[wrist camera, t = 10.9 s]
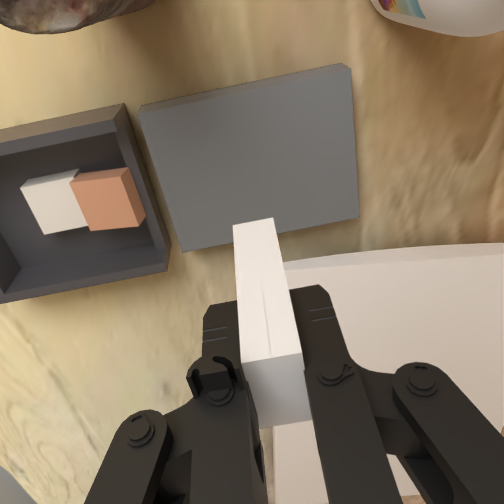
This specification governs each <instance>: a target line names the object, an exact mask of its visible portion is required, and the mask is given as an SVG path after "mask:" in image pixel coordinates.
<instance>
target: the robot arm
mask: <svg viewBox="0 0 504 504" xmlns="http://www.w3.org/2000/svg"><path fill="white" fill-rule="evenodd" d="M233 239H234V255H235V272H236V288H237V300H236V301H230V302H225V303H219V304H214V305H210V306H209V308H208V310H207V312H206V313H205V315H204V317H203V343H202V357H201V358H199V359H198V360H196V361H195V362H194V363H193V364H192V365H191V367H190V368H189V369H188V373H187V376H186V379H187V382H188V384H189V387H190V389H191V392H192V394H193V396H194V397H193V398H192V399H191V400H190V401H189V402H187V403H186V404H185V405H183V406H181V407H180V408H178V409H176V410H174V411H172V412H169V413H167V414H165V415H162V414H161V413H160V412H158V411H154V410H143V411H139V412H137V413H135V414H133V415H130V416H129V417H128V418H127V419H126V420H125V421H124V422H122V424H121V425H120V427H119V428H118V430H117V431H116V433H115V435H114V438H113V440H112V442H111V444H110V447H109V449H108V451H107V453H106V455H105V458H104V460H103V462H102V464H101V467H100V469H99V471H98V473H97V475H96V478H95V480H94V482H93V484H92V487H91V489H90V491H89V493H88V495H87V498H86V500H85V502H84V504H268V496H267V486H266V476H265V465H264V455H263V447H262V444H261V440H260V436H259V427H260V429H262V428H268V427H274V426H280V425H286V424H292V423H298V422H303V421H309V420H313V425H314V431H315V437H316V442H317V448H318V454H319V457H320V462H321V467H322V472H323V477H324V481H325V486H326V491H327V496H328V501H329V504H403V502H402V499H401V496H400V493H399V490H398V487H397V484H396V481H395V478H394V475H393V472H392V469H391V466H390V463H389V460H388V457H387V454H390V455H396V457H397V459H398V460H399V462H400V463H401V465H402V466H403V468H404V470H405V471H406V473H407V474H408V476H409V477H410V479H411V480H412V482H413V484H414V485H415V487H416V488H417V490H418V491H419V493H420V494H421V496H422V498H423V499H424V501H425V502H426V504H504V437H503V436H502V435H501V434H500V433H499V432H498V430H497V429H496V428H495V427H494V426H493V425H492V424H491V423H490V422H489V421H488V419H487V418H486V417H485V416H484V415H483V414H482V413H481V412H480V411H479V409H478V408H477V407H476V406H475V405H474V404H473V403H472V402H471V401H470V399H469V398H468V397H467V396H466V395H465V394H464V393H463V392H462V391H461V390H460V388H459V387H458V386H457V385H456V384H455V383H454V382H453V381H452V380H451V378H450V377H449V376H448V375H447V374H446V373H445V372H443V371H442V370H441V369H440V368H438V367H436V366H434V365H431V364H429V363H424V362H412V363H407V364H404V365H403V366H401V367H400V368H398V369H397V370H396V372H395V374H392V373H382V372H375V371H370V370H368V369H365V368H363V367H361V366H360V365H358V364H357V363H356V362H355V361H354V360H353V359H352V358H351V356H350V354H349V352H348V349H347V346H346V343H345V340H344V337H343V334H342V331H341V328H340V325H339V322H338V319H337V317H336V313H335V310H334V308H333V304H332V301H331V298H330V295H329V293H328V292H327V291H326V290H325V289H324V288H323V287H322V286H320V285H319V284H317V285H311V286H306V287H301V288H295V289H290V290H289V289H288V285H287V280H286V275H285V271H284V266H283V262H282V257H281V252H280V248H279V243H278V238H277V234H276V229H275V224H274V220H273V218H268V219H262V220H257V221H252V222H247V223H242V224H236V225H233Z"/></svg>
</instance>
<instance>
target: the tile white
mask: <svg viewBox="0 0 504 504" xmlns="http://www.w3.org/2000/svg"><path fill="white" fill-rule="evenodd" d="M80 173H81V172H80V170H79V169H75V170H70V171H65V172H60V173H56V174H51V175H46V176H41V177H37V178H32V179H28V180H27V181H26V182H25V183H24V184H23V185H22V186H21V187H20V189H21V191H22V193H23V195H24V197H25V199H26V201H27V203H28V205H29V206H30V208H31V210H32V212H33V214H34V216H35V218H36V220H37V222H38V224H39V226H40V228H41V230H42V232H43V233H44V235H45V234H50V233H55V232H60V231H65V230H69V229H74V228H79V227H84V226H88V224H87V222H86V220H85V218H84V215H83V213H82V211H81V209H80V206H79V204H78V202H77V200H76V198H75V195H74V193H73V191H72V189H71V186H70V184H69V182H71V181H72V180H73V179H74V178H75V177H76V176H77V175H78V174H80Z"/></svg>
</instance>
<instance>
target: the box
mask: <svg viewBox="0 0 504 504" xmlns="http://www.w3.org/2000/svg"><path fill="white" fill-rule="evenodd" d="M126 167H129V169H130V172H131V175H132V178H133V180H134V183H135V186H136V189H137V191H138V194H139V197H140V200H141V202H142V205H143V208H144V211H145V213H146V217H145V218H144V220H143V221H142V222H141V224H140V225H139V226H136V227H126V228H116V229H105V230H95V231H90V229H89V227H88V226H84V227H79V228H74V229H69V230H65V231H60V232H55V233H50V234H45V235H44V233H43V232H42V230H41V228H40V226H39V224H38V222H37V220H36V218H35V216H34V214H33V212H32V210H31V208H30V206H29V205H28V203H27V201H26V199H25V197H24V195H23V193H22V191H21V189H20V187H21V186H22V185H23V184H24V183H25V182H26V181H27V180H28V179H32V178H37V177H41V176H46V175H51V174H56V173H60V172H65V171H70V170H75V169H79V170H80V172H81V173H88V172H95V171H103V170H111V169H118V168H126ZM170 251H171V241H170V239H169V236H168V233H167V230H166V227H165V224H164V221H163V218H162V215H161V212H160V209H159V206H158V203H157V200H156V197H155V194H154V191H153V188H152V185H151V182H150V179H149V176H148V173H147V170H146V167H145V164H144V162H143V159H142V156H141V153H140V150H139V147H138V144H137V141H136V138H135V135H134V132H133V129H132V126H131V123H130V120H129V117H128V114H127V111H126V108H125V105H124V103H122V104H118V105H113V106H108V107H104V108H99V109H94V110H89V111H85V112H80V113H75V114H71V115H66V116H61V117H57V118H52V119H47V120H43V121H38V122H33V123H29V124H24V125H19V126H14V127H10V128H5V129H0V304H3V303H8V302H13V301H18V300H23V299H28V298H33V297H38V296H43V295H48V294H53V293H58V292H63V291H69V290H74V289H79V288H84V287H89V286H94V285H99V284H104V283H109V282H114V281H119V280H124V279H129V278H134V277H139V276H144V275H149V274H154V273H159V272H165V271H167V270H168V263H169V257H170Z"/></svg>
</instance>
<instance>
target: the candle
mask: <svg viewBox="0 0 504 504" xmlns="http://www.w3.org/2000/svg"><path fill="white" fill-rule="evenodd" d="M155 1H156V0H0V24H2V25H4V26H6V27H8V28H10V29H13V30H17V31H21V32H25V33H30V34H58V33H66V32H70V31H74V30H79V29H81V28H83V27H86V26H89V25H92V24H95V23H97V22H100V21H104V20H107V19H110V18H113V17H115V16H121V15H124V14H127V13H131V12H134V11H137V10H140V9H142V8H145V7H147V6H149V5H151V4H152V3H154V2H155Z"/></svg>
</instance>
